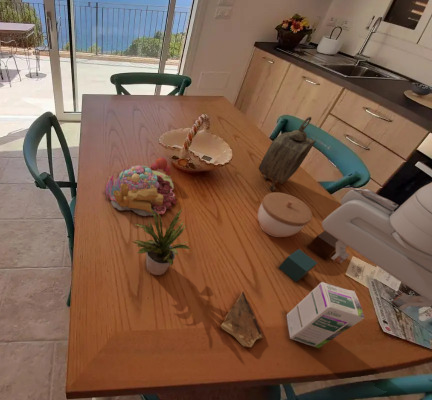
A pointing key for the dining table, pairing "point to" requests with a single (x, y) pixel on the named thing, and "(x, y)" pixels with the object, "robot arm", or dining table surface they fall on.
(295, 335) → the syrup box
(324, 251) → the block
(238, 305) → the shard
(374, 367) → the dining table surface
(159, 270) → the house plant
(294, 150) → the old cowbell
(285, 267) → the block
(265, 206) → the lidded bowl
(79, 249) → the dining table surface
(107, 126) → the dining table surface
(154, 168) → the candy landscape model
